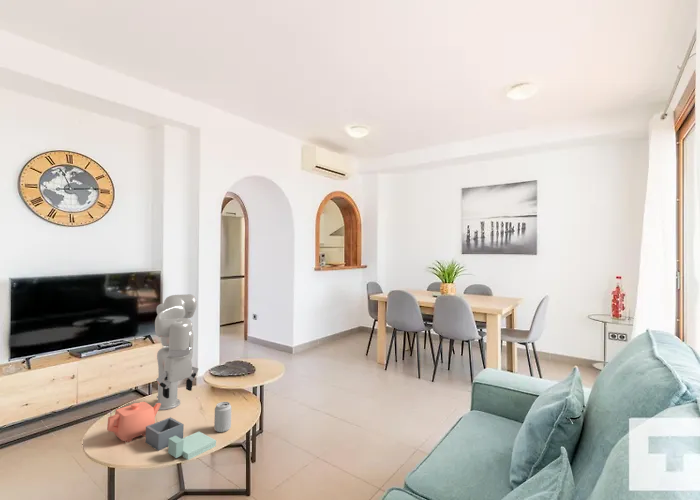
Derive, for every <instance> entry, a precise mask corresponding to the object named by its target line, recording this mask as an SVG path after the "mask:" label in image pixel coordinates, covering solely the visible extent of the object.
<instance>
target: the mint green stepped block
mask: <svg viewBox="0 0 700 500" xmlns="http://www.w3.org/2000/svg"><path fill="white" fill-rule="evenodd" d="M216 446H217V440H216V439H215V438H212V437H210V436H208V435H207V434H205V433H203V432H202V431H196V432H195V433H192V434H190V435H187V436H185V437H183V439H181V438H179V437H177V436H173V437H171V438H169V441H168V447H167V449H168V451H167V453H168V454H169V455H171V456H172V457H174V458H175V459H177V458H179V457H183V458H184V459H186V460H187V461H189V460H191V459H193V458H195V457H196V456H199V455H201V454H203V453H205V452H207V451H209V450H211V449H213V448H215V447H216Z"/></svg>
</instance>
